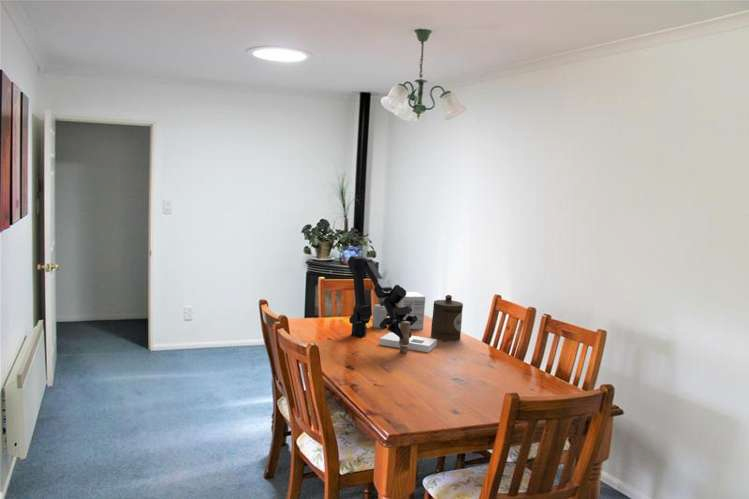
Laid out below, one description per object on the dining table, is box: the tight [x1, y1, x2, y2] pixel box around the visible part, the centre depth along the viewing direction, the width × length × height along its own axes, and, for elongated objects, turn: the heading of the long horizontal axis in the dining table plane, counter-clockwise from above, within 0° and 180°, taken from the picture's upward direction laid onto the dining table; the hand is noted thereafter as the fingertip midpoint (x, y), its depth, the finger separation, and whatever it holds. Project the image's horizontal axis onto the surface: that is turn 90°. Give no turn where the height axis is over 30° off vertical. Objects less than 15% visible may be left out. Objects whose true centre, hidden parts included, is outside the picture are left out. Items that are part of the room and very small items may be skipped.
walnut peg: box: [399, 321, 411, 354], centre depth 291 cm, size 5×5×14 cm
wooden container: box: [430, 294, 464, 342], centre depth 323 cm, size 15×15×22 cm
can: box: [371, 303, 388, 330], centre depth 337 cm, size 8×8×12 cm
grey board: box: [379, 331, 438, 353], centre depth 306 cm, size 24×14×3 cm, turn 70°
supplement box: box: [397, 291, 426, 330], centre depth 344 cm, size 13×13×18 cm
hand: (406, 337), depth 290 cm, fingers closed on walnut peg, 4 cm apart
